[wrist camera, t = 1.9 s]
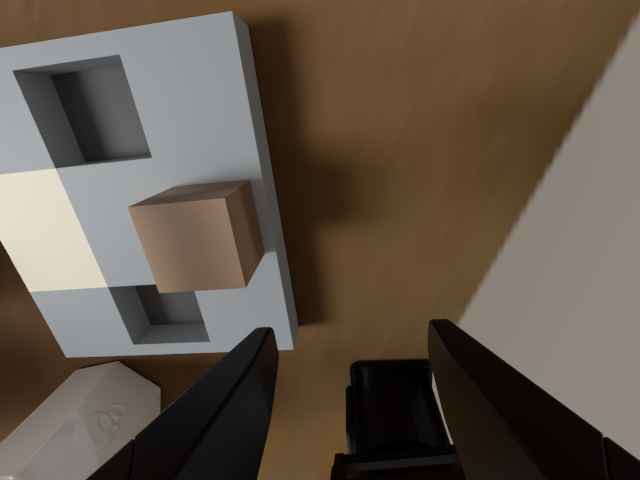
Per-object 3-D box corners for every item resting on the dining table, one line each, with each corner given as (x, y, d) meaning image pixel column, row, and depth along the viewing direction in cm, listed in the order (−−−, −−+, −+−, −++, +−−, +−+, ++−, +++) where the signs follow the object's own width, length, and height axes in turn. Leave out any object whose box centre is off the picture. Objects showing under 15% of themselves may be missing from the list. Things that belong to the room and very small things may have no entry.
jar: (183, 398, 28) (80, 584, 17) (141, 437, 31) (28, 618, 20) (97, 343, 26) (-82, 513, 15) (60, 390, 29) (-115, 562, 18)
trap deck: (247, 25, 16) (232, 11, 14) (298, 326, 24) (293, 349, 22) (-43, 70, 18) (-99, 64, 16) (91, 335, 26) (66, 357, 23)
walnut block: (250, 179, 17) (224, 198, 13) (265, 253, 19) (245, 287, 15) (173, 186, 17) (127, 206, 14) (194, 258, 19) (159, 293, 15)
